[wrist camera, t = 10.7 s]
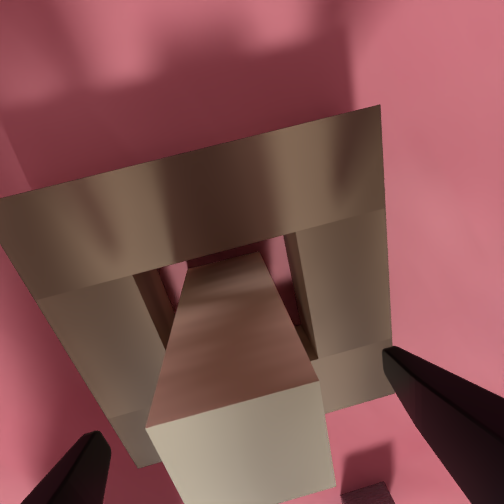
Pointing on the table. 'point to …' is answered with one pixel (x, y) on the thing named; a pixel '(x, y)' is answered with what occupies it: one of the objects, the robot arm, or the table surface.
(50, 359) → the table surface
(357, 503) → the metal stub
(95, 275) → the walnut sleeve block
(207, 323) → the maple pin
